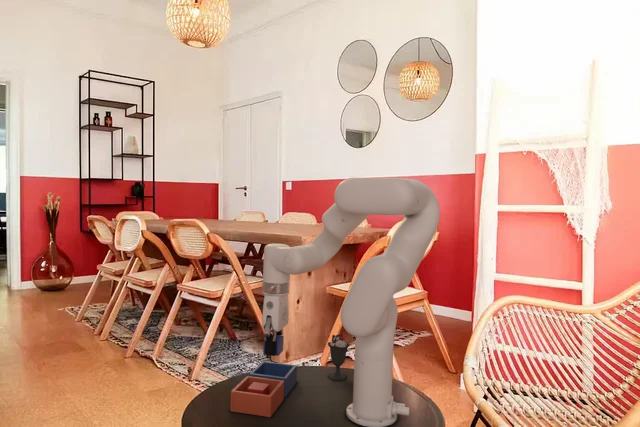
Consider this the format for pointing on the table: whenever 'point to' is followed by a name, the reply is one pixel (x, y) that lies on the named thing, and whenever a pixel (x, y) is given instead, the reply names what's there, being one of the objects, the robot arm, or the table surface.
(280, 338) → the blue block
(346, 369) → the table surface
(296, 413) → the table surface
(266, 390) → the red block
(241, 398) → the terracotta bin
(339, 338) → the sundae
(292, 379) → the blue bin
